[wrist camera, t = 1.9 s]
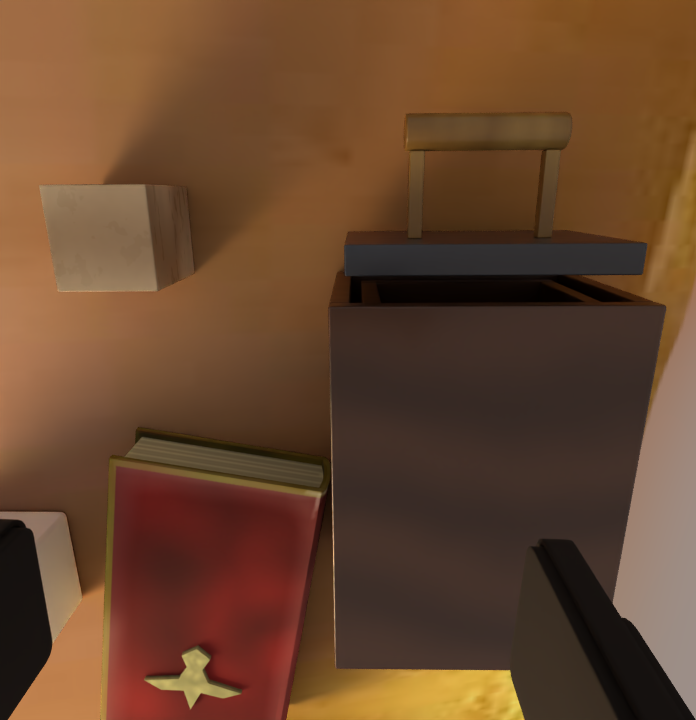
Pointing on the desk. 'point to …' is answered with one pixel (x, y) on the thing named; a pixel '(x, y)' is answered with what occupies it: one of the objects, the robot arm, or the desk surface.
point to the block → (118, 236)
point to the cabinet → (475, 459)
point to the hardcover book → (207, 577)
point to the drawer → (485, 248)
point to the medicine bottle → (54, 564)
